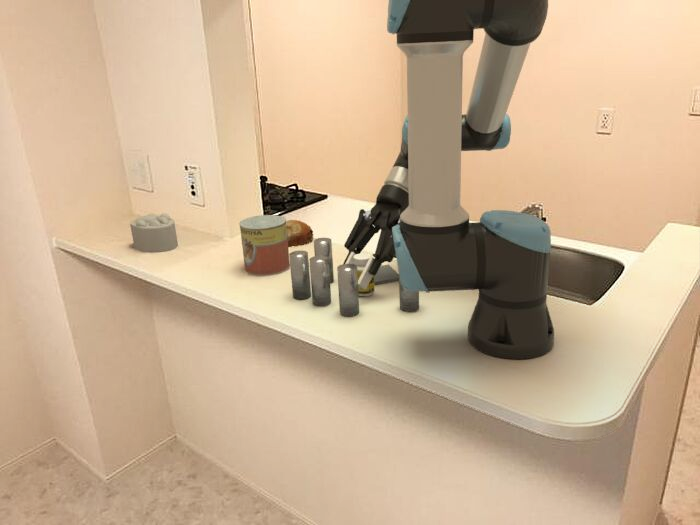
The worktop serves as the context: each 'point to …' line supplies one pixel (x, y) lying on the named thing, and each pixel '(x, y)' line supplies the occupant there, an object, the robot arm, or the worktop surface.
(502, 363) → the worktop surface
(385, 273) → the mat
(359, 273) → the supplement bottle
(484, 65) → the robot arm
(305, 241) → the bread roll
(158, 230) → the lumpy-topped squat cylinder
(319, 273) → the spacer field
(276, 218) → the canned food
